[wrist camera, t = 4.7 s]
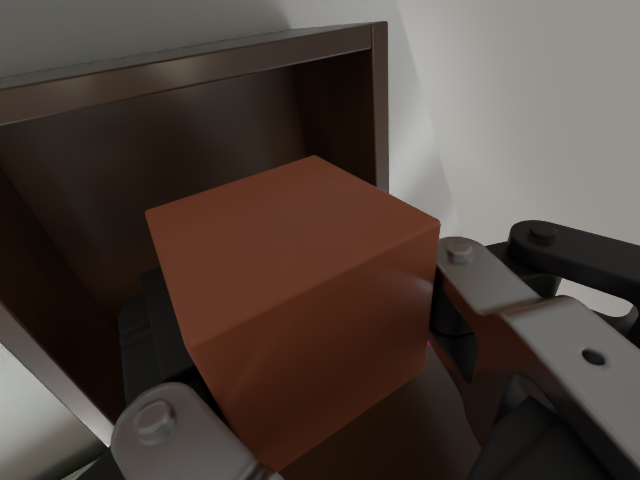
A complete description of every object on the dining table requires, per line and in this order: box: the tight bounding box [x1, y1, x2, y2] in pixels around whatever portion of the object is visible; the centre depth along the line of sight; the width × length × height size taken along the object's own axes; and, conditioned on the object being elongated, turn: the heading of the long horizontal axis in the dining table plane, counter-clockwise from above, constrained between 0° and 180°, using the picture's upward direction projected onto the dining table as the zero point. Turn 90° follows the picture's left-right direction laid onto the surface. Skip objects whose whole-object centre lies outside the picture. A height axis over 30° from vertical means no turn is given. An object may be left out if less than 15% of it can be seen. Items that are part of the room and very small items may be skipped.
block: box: [145, 155, 441, 472], centre depth 8 cm, size 5×5×5 cm
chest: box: [0, 21, 389, 447], centre depth 17 cm, size 17×16×8 cm
